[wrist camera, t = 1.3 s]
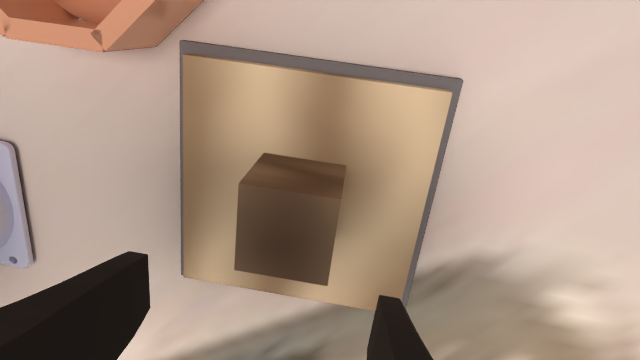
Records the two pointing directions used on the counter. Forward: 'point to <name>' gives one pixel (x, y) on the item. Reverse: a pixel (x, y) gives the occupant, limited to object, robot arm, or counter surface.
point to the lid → (305, 178)
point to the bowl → (93, 22)
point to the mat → (341, 69)
